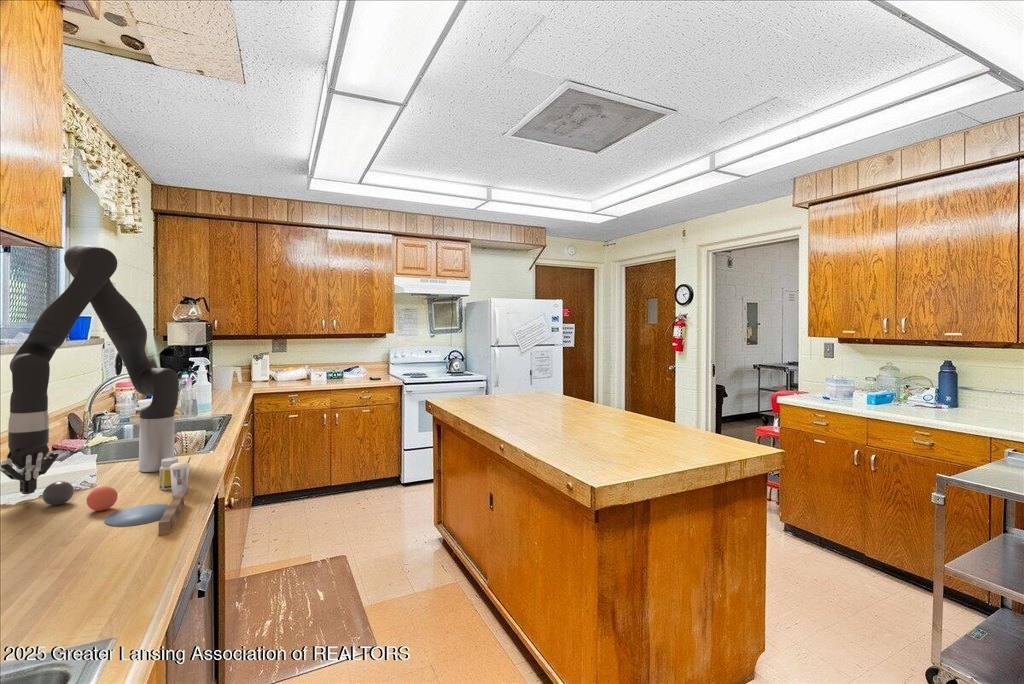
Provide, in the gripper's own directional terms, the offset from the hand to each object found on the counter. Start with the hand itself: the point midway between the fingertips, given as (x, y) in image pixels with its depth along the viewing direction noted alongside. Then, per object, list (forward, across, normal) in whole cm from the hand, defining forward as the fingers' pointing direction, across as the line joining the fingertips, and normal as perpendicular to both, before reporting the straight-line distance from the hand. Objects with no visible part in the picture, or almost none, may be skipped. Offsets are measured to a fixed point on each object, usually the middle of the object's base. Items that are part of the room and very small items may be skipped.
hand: (28, 493), depth 126 cm
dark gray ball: (-1, 0, -10) cm, 10 cm away
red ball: (-1, 0, -24) cm, 24 cm away
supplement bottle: (+2, +18, -25) cm, 31 cm away
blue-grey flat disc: (+2, 0, -36) cm, 36 cm away
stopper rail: (+2, 0, -45) cm, 45 cm away
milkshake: (+2, +15, -32) cm, 36 cm away
